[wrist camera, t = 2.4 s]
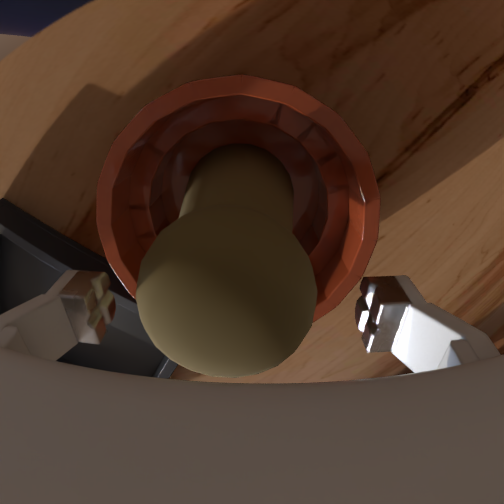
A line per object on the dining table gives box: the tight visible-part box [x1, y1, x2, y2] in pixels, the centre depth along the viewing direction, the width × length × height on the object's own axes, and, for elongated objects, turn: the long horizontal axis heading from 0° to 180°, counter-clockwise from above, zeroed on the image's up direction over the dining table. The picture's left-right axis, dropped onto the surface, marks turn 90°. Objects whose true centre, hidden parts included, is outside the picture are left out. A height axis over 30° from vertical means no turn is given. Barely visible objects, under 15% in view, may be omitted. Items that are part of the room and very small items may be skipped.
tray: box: [0, 198, 178, 379], centre depth 21 cm, size 18×14×3 cm
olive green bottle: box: [135, 143, 318, 378], centre depth 12 cm, size 6×6×11 cm
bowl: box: [96, 74, 381, 323], centre depth 15 cm, size 13×13×5 cm
